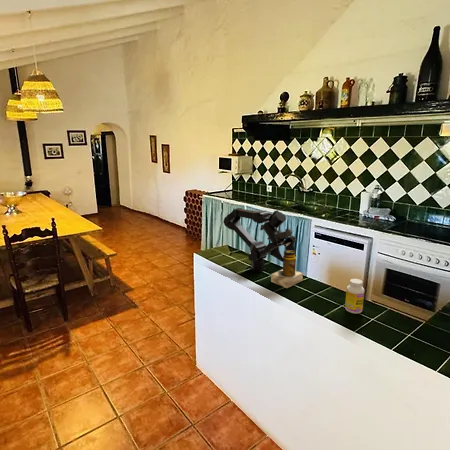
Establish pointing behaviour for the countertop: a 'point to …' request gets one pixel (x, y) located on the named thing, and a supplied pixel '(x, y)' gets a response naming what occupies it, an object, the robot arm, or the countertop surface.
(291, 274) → the condiment
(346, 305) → the supplement bottle
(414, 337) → the countertop surface
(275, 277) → the wooden block
